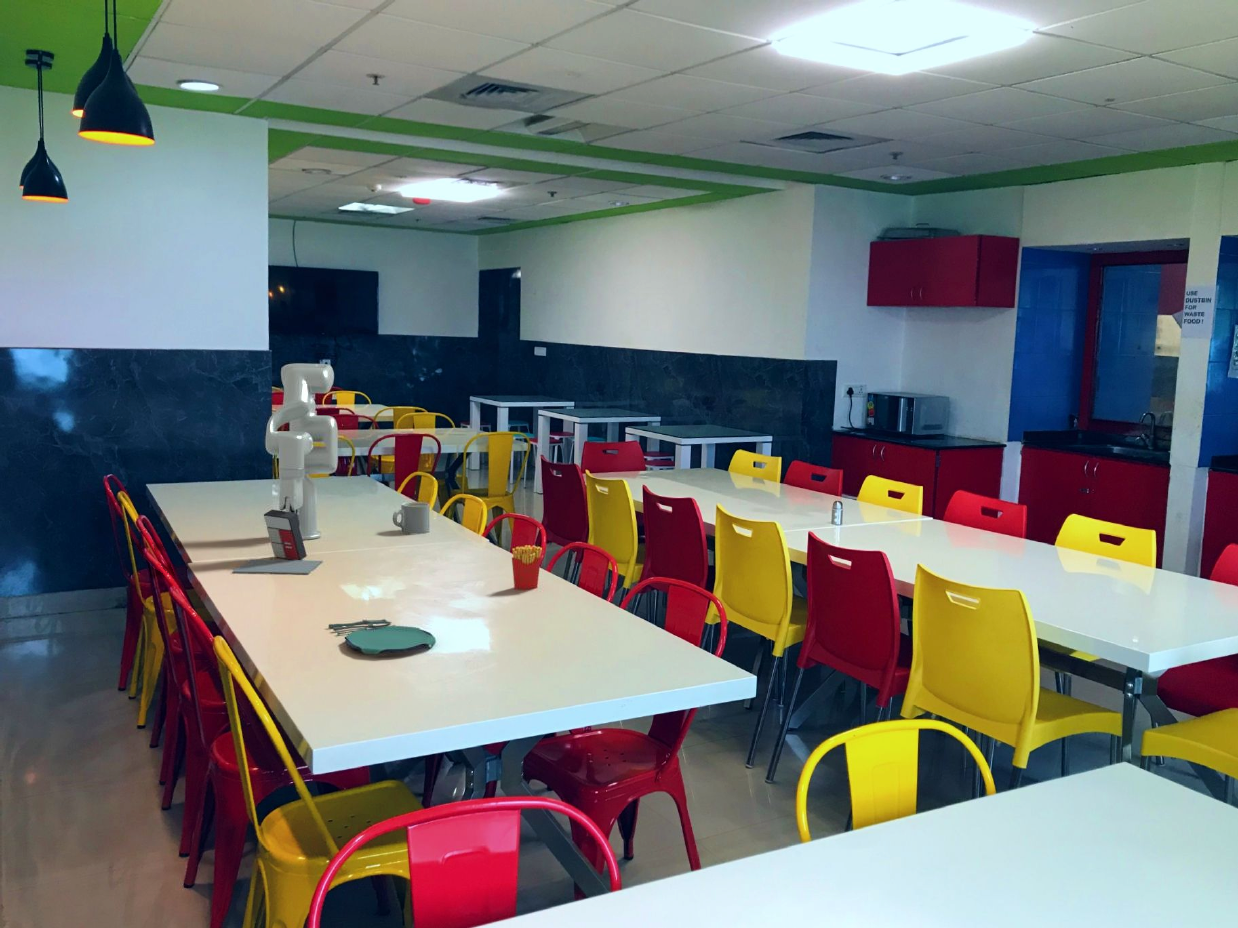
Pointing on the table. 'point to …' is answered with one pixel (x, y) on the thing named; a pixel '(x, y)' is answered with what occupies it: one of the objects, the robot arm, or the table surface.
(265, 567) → the mat
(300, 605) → the table surface
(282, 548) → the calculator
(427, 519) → the coffee mug
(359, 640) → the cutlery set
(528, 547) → the french fries
